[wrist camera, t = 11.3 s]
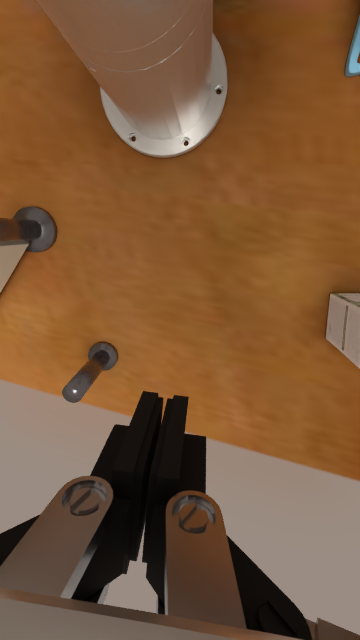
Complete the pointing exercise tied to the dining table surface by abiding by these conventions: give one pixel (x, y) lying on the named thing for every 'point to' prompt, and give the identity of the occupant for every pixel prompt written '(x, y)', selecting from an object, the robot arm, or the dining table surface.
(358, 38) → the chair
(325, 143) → the dining table surface
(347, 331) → the syrup box
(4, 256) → the panel
